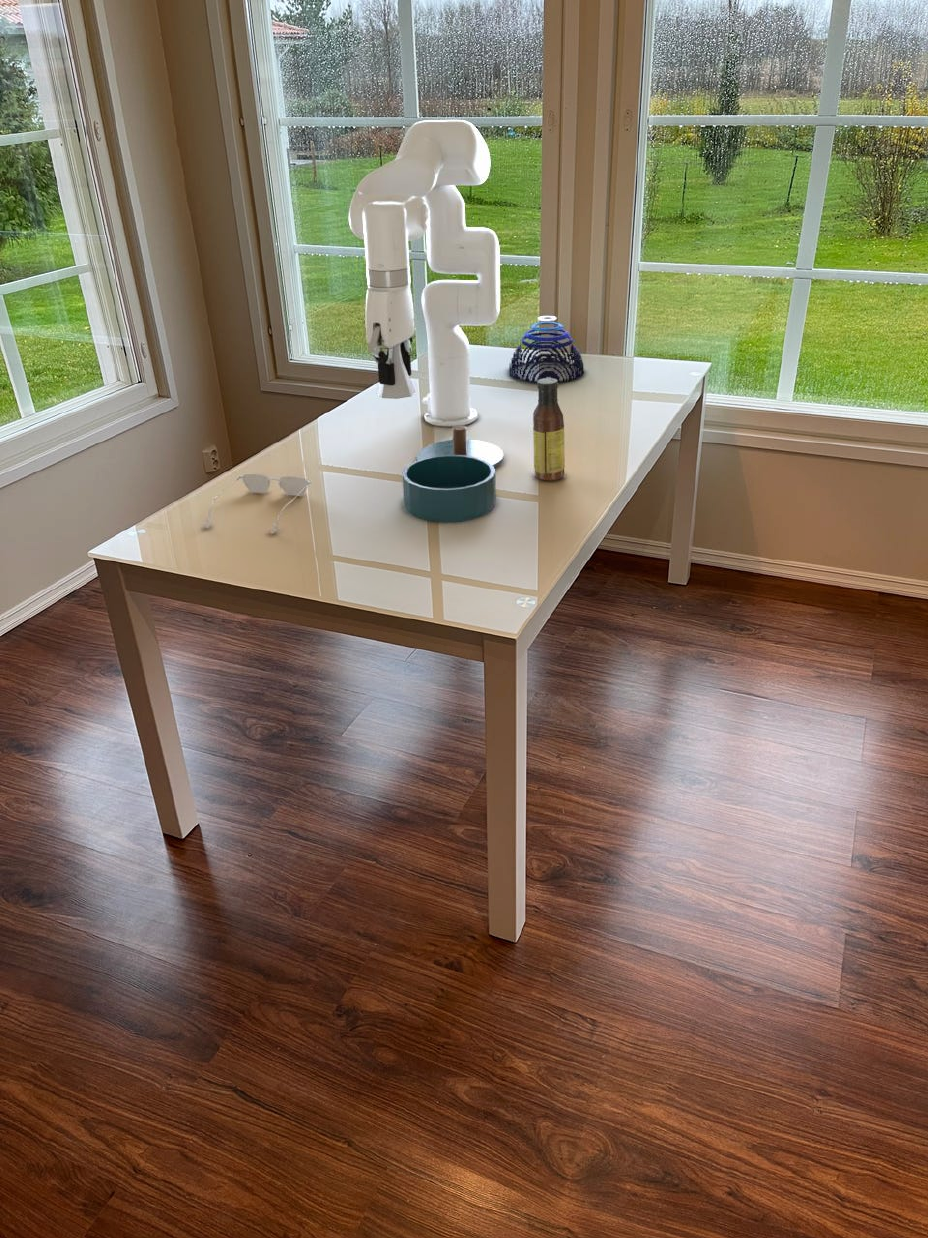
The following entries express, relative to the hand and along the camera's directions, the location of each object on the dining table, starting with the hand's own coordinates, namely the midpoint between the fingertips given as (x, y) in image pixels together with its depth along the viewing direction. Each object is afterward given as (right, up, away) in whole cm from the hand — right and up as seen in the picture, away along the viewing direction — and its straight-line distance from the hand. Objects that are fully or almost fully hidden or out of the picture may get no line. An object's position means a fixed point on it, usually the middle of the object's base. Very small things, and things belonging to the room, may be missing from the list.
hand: (395, 378), depth 176 cm
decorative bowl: (+35, +22, +81) cm, 91 cm away
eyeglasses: (-27, -24, +7) cm, 37 cm away
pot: (+10, -22, +8) cm, 25 cm away
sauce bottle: (+30, -16, +18) cm, 38 cm away
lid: (+12, -10, +27) cm, 31 cm away
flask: (0, -3, +2) cm, 3 cm away
